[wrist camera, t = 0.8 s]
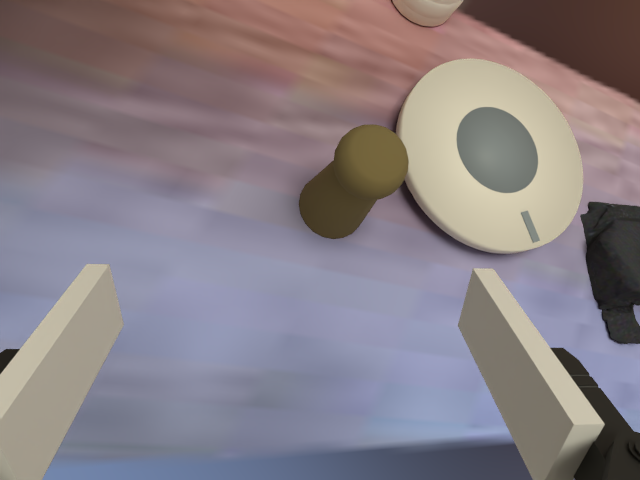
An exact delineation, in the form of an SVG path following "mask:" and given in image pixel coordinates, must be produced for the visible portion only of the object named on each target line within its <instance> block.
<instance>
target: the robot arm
mask: <svg viewBox="0 0 640 480" xmlns="http://www.w3.org/2000/svg"><path fill="white" fill-rule="evenodd" d="M123 325H124V324H123V319H122V315H121V311H120V307H119V303H118V298H117V294H116V290H115V286H114V282H113V278H112V273H111V269H110V265H109V264H87V265H86V266H85V267H84V268H83V270H82V271H81V272H80V274H79V275H78V276H77V277H76V279H75V280H74V281H73V282H72V284H71V285H70V286H69V288H68V289H67V290H66V291H65V293H64V294H63V295H62V296H61V298H60V299H59V300H58V302H57V303H56V304H55V305H54V307H53V308H52V309H51V311H50V312H49V313H48V314H47V316H46V317H45V318H44V319H43V321H42V322H41V323H40V325H39V326H38V327H37V328H36V330H35V331H34V332H33V333H32V335H31V336H30V337H29V339H28V340H27V341H26V342H25V344H24V345H23V346H22V347H21V349H5V350H4V351H3V352H1V353H0V480H42V478H43V476H44V475H45V473H46V471H47V469H48V467H49V465H50V463H51V462H52V460H53V458H54V456H55V454H56V452H57V450H58V448H59V446H60V445H61V443H62V441H63V439H64V437H65V435H66V433H67V431H68V429H69V427H70V426H71V424H72V422H73V420H74V418H75V416H76V414H77V412H78V410H79V409H80V407H81V405H82V403H83V401H84V399H85V397H86V395H87V393H88V391H89V390H90V388H91V386H92V384H93V382H94V380H95V378H96V376H97V374H98V372H99V371H100V369H101V367H102V365H103V363H104V361H105V359H106V357H107V355H108V354H109V352H110V350H111V348H112V346H113V344H114V342H115V340H116V338H117V336H118V335H119V333H120V331H121V329H122V327H123ZM458 327H459V329H460V331H461V333H462V335H463V337H464V339H465V341H466V343H467V345H468V347H469V349H470V352H471V354H472V356H473V358H474V360H475V362H476V364H477V366H478V368H479V370H480V372H481V374H482V376H483V378H484V380H485V382H486V384H487V386H488V388H489V390H490V393H491V395H492V397H493V399H494V401H495V403H496V405H497V407H498V409H499V411H500V413H501V415H502V417H503V419H504V421H505V423H506V425H507V427H508V429H509V431H510V434H511V436H512V438H513V440H514V442H515V444H516V445H517V448H518V450H519V452H520V454H521V456H522V458H523V460H524V462H525V464H526V466H527V468H528V470H529V472H530V475H531V477H532V478H533V480H573V479H574V478H575V480H640V433H638V432H634V431H633V430H632V429H631V427H630V426H629V425H628V423H627V422H626V421H625V420H624V418H623V417H622V416H621V414H620V413H619V412H618V410H617V409H616V408H615V407H614V405H613V404H612V403H611V401H610V400H609V399H608V398H607V396H606V395H605V394H604V392H603V391H602V390H601V388H598V385H597V383H596V382H595V381H594V379H593V378H592V377H590V376H589V373H588V372H587V370H586V369H585V368H584V367H583V365H582V364H581V363H580V361H579V360H578V359H576V358H575V357H574V356H573V355H571V354H570V353H569V352H567V351H566V350H565V349H564V348H550V347H549V346H548V344H547V343H546V342H545V340H544V339H543V337H542V336H541V335H540V333H539V332H538V331H537V329H536V328H535V326H534V325H533V324H532V322H531V321H530V319H529V318H528V317H527V315H526V314H525V312H524V311H523V310H522V308H521V307H520V305H519V304H518V303H517V301H516V300H515V299H514V297H513V296H512V294H511V293H510V292H509V290H508V289H507V287H506V286H505V285H504V283H503V282H502V280H501V279H500V278H499V276H498V275H497V273H496V272H495V271H494V269H473V271H472V274H471V278H470V282H469V286H468V289H467V293H466V297H465V301H464V304H463V308H462V312H461V316H460V319H459V323H458Z"/></svg>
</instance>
